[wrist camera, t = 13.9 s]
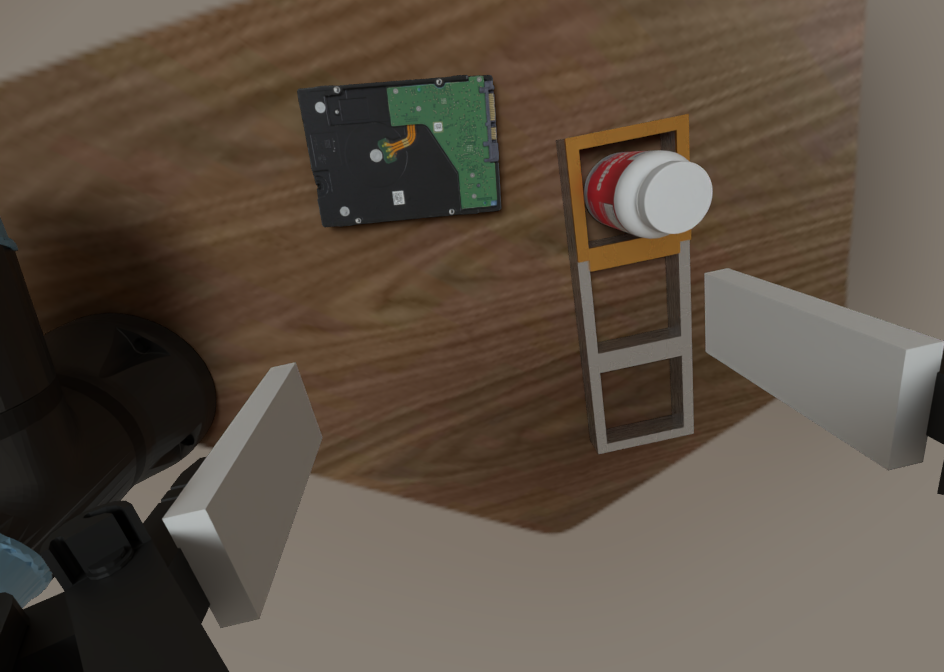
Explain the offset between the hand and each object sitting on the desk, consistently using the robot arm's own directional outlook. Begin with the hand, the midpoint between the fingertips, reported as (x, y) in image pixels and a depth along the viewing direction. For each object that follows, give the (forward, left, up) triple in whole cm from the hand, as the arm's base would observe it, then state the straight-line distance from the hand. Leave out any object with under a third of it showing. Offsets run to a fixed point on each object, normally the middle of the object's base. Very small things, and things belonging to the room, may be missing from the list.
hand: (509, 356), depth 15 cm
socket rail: (+15, -9, -28) cm, 33 cm away
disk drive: (-3, +7, -29) cm, 30 cm away
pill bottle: (+15, +1, -29) cm, 32 cm away
